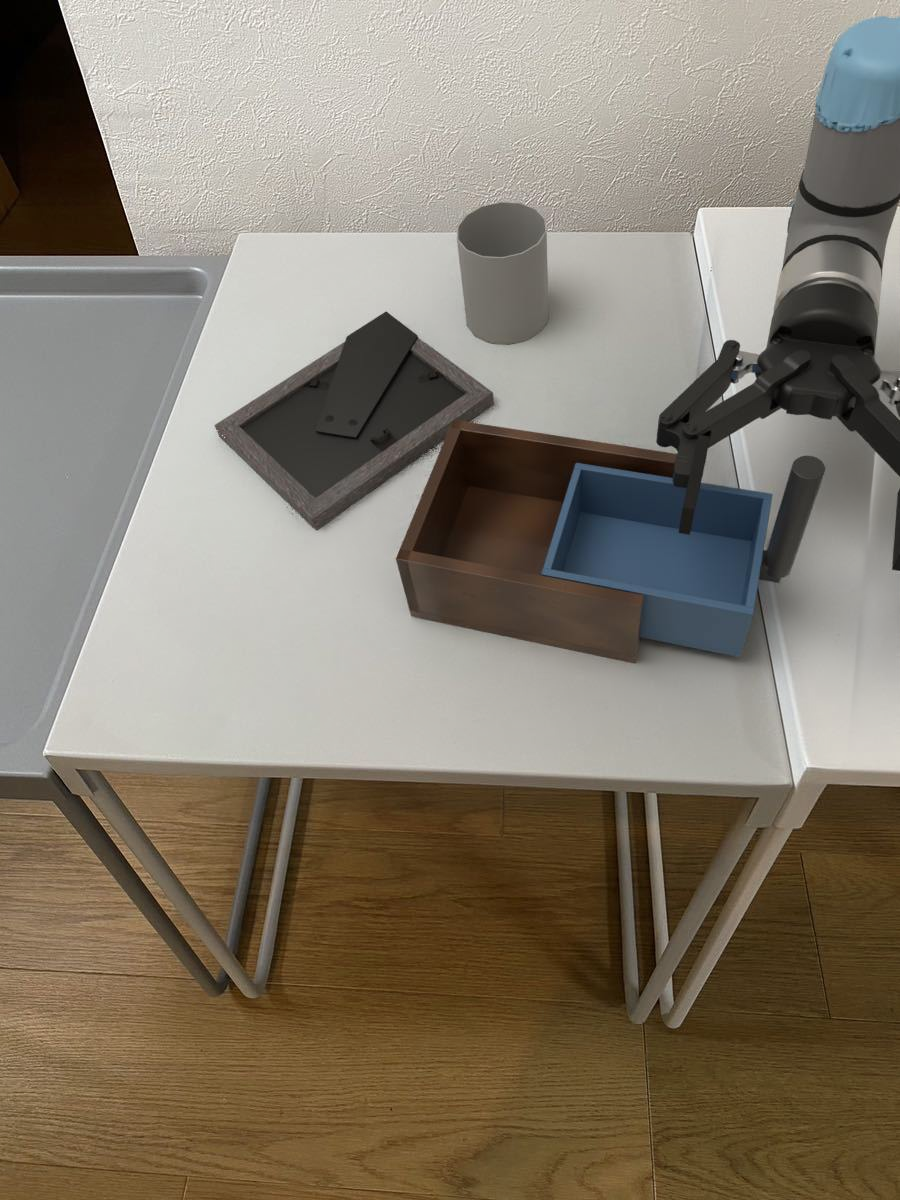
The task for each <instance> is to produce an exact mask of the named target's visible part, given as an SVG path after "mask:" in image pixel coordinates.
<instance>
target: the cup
mask: <svg viewBox="0 0 900 1200" xmlns="http://www.w3.org/2000/svg"><path fill="white" fill-rule="evenodd" d="M547 231H548V230H547V218H546V217H544V215H543V214H542V213H541V212H540V211H539V210H538V209H537V208H535V207H533V206H530V205H527V204H525V203H522V202H515V201H514V202H513V201H497V202H494V203H488V204H485V205H481V206H479V207H477V208H475V209H474V210H471V211H470V212H469V213H466V214H465V216H463V218H462V219H461V220H460V222H459V223H458V225H457V226H456V244H457V252H458V260H459V269H460V276H461V277H460V278H461V287H462V297H463V304H464V313H465V321H466V327H467V328H468V330H470V332H471V333H472V334H473V336H474V337H476V338H478V339H480V340H482V341H484V342H486V343H488V344H496V345H497V344H498V345H507V346H508V345H512V344H517V343H521V342H525V341H528V340H529V339H531V338H533V337H535V336H536V335H537V334H540V333H541V332H542V331H543V329H544V328H545V326H546V324H547V322H548V321H549V320H550V317H549V316H550V315H549V313H550V311H549V277H548V276H549V274H548V270H549V269H548V235H547V234H548V233H547Z"/></svg>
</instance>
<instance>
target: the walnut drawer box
mask: <svg viewBox="0 0 900 1200" xmlns="http://www.w3.org/2000/svg"><path fill="white" fill-rule="evenodd" d="M676 457H677V453H674V452H668V451H661V450H656V449H655V450H654V449H649V448H642V447H635V446H628V445H623V444H616V443H608V442H602V441H595V440H590V439H589V440H588V439H582V438H576V437H570V436H562V435H557V434H549V433H542V432H536V431H531V430H523V429H516V428H509V427H504V426H496V425H490V424H484V423H483V424H482V423H477V422H471V421H470V422H464V421H459V420H453V421H452V423H451V426H450V428H449V430H448V433H447V435H446V438H445V439H444V440H443V443H442V446H441V448H440V450H439V452H438V455H437V457H436V460H435V462H434V465H433V467H432V470H431V472H430V475H429V477H428V478H427V479H428V480H427V482H426V484H425V487H424V489H423V492H422V493H421V496H420V499H419V501H418V504H417V506H416V508H415V511H414V513H413V516H412V518H411V521H410V523H409V526H408V528H407V529H406V532H405V535H404V538H403V540H402V543H401V544H400V547H399V549H398V552H397V555H396V557H395V561H396V562H395V563H396V565H397V569H398V573H399V576H400V580H401V584H402V587H403V591H404V595H405V599H406V603H407V606H408V611H409V614H410V616H411V617H413V618H416V619H417V618H418V619H423V620H426V621H432V622H436V623H441V624H446V625H450V626H454V627H455V626H456V627H459V628H466V629H471V630H475V631H480V632H484V633H489V634H494V635H499V636H503V637H508V638H513V639H518V640H522V641H526V642H531V643H537V644H541V645H546V646H551V647H554V648H555V647H556V648H561V649H566V650H569V651H575V652H579V653H585V654H589V655H593V656H599V657H603V658H608V659H613V660H618V661H623V662H627V663H631V664H636V661H637V657H638V652H639V647H640V644H641V639H642V637H639V635H640V626H641V618H642V610H643V601H644V595H640V594H635V593H630V592H624V591H619V590H614V589H609V588H603V587H598V586H593V585H588V584H583V583H577V582H572V581H567V580H562V579H556V578H551V577H546V576H541V573H542V570H543V567H544V564H545V560H546V557H547V554H548V551H549V548H550V544H551V541H552V538H553V535H554V531H555V528H556V525H557V522H558V518H559V515H560V512H561V509H562V505H563V502H564V499H565V496H566V493H567V489H568V486H569V483H570V480H571V476H572V473H573V470H574V467H575V464H576V463H581V464H587V465H594V466H600V467H606V468H613V469H619V470H625V471H632V472H638V473H644V474H650V475H657V476H663V477H669V478H673V472H674V466H675V461H676Z"/></svg>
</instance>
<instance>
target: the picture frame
mask: <svg viewBox="0 0 900 1200" xmlns="http://www.w3.org/2000/svg"><path fill="white" fill-rule="evenodd" d="M494 405H495V401H494V392H493V391H492V390H491V389H489V388H488V387H487V386H485V385H484V384H482V383H481V382H479V380H477V379H476V378H474V377H472V376H471V375H470V374H468V372H467V371H465V370H463V369H462V368H460V367H459V366H458V365H457V364H455V363H454V362H453V361H451V360H450V359H448V358H447V357H446V356H444V355H443V354H441V353H440V351H437V350H436V349H435V348H433V347H432V346H431V345H429V344H428V343H427V342H425V341H424V340H422V339H421V338H420V337H419V335H418V334H416V333H415V332H414V331H412V329H410V328H409V327H407V326H406V325H405V324H403V323H402V322H401V321H400V320H399V319H397V318H396V317H394V316H393V315H392V314H391V313H389V312H388V311H387V310H386V311H384V312H383V313H381V314H379V315H378V316H376V317H375V318H373V319H371V320H370V321H368V322H367V323H366V324H364V325H362V326H361V327H359V328H358V329H356V330H355V331H353V332H351V333H349V334H348V335H347V336H346V337H345V340H344V341H343V342H342V343H340V344H339V345H337V346H336V347H334V348H333V349H331V350H329V351H328V352H326V353H325V354H323V355H322V356H320V357H318V358H317V359H315V360H314V361H312V362H310V363H309V364H308V365H307V364H306V366H304V367H303V368H301V369H299V370H298V371H297V372H295V373H294V374H292V375H290V376H289V377H287V378H286V379H284V380H282V381H281V382H280V383H278V384H276V385H274V386H273V387H272V388H269V389H268V390H267V391H266V392H264V393H262V394H260V395H259V396H258V397H256V398H255V399H253V400H251V401H250V402H248V403H246V404H245V405H243V406H242V407H240V408H239V409H237V410H235V411H234V412H233V413H231V414H230V415H228V416H226V417H225V418H223V419H221V420H220V421H219V422H217V423H215V424H214V425H213V426H214V428H215V430H216V433H217V434H218V437H219V438H220V439H221V440H222V441H223V442H224V443H225V444H226V445H227V446H228V447H229V448H230V449H232V450H233V452H235V453H236V454H237V456H239V457H240V459H242V460H243V461H244V463H246V464H247V465H248V466H249V467H250V468H251V469H252V470H253V471H254V472H255V473H256V474H257V475H258V476H259V477H260V478H261V479H262V480H263V481H264V482H266V484H267V485H268V486H269V487H271V488H272V490H273V491H275V493H277V494H278V495H279V496H280V498H282V499H283V500H284V501H285V502H286V503H287V504H288V505H289V506H290V507H291V508H292V509H293V510H294V511H295V512H296V513H297V514H298V515H299V516H300V517H301V518H302V519H304V520H305V521H306V522H307V524H308V525H310V526H311V528H313V529H314V530H315V531H318V530H319V529H320V528H322V527H323V526H324V525H326V524H327V523H328V522H330V521H331V520H333V519H335V518H336V517H337V516H339V515H340V514H341V513H342V512H344V511H346V510H347V509H349V508H350V507H352V506H353V505H354V504H355V503H357V502H359V501H360V500H361V499H362V498H364V497H365V496H366V495H368V494H369V493H371V492H372V491H374V490H375V489H377V488H378V487H380V486H381V485H382V484H384V483H385V482H386V481H388V480H389V479H391V478H392V477H394V476H395V475H396V474H398V473H399V472H401V471H402V470H404V468H406V467H408V466H409V465H411V464H413V462H415V461H416V460H418V459H419V458H420V457H422V456H423V455H424V454H426V453H427V452H429V451H430V450H431V449H434V447H436V446H437V445H438V444H440V443H441V442H444V440H445V438H446V435H447V433H448V430H449V428H450V426H451V423H452V421H453V420H459V421H464V422H471V421H473V420H474V419H475V418H477V417H478V416H479V415H481V414H483V413H484V412H485V411H487V410H488V409H490V408H491V407H492V406H494ZM217 430H218V431H217ZM222 435H223V436H222ZM224 437H225V438H224Z"/></svg>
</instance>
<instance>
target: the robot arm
mask: <svg viewBox="0 0 900 1200" xmlns="http://www.w3.org/2000/svg"><path fill="white" fill-rule="evenodd" d="M814 107H815V110H814V114H813V119H812V120H813V121H812V126H811V131H810V137H809V141H808V146H807V153H806V156H805V157H806V158H805V164H804V168H803V170H802V172H801V176H800V179H799V182H798V186H797V190H796V195H795V198H794V199H793V202H792V205H791V211H790V215H789V217H788V220H787V227H786V228H787V230H786V233H787V235H786V240H785V248H784V255H783V260H782V261H783V262H782V267H781V271H780V274H779V278H778V283H777V289H776V294H775V300H774V304H773V312H772V313H773V314H772V317H771V319H770V320H771V322H770V327H769V332H768V336H767V337H768V338H767V341H766V342H767V343H766V348H765V349H764V350H763V351H761V352H760V353H759V354H758V353H753V352H748V351H743V350H740V349H741V344H740V342H739V341H737V340H735V339H729V340H726V341H724V343H723V344H722V347H721V349H720V352H719V355H718V357H717V359H716V360H715V361H714V362H713V363H712V364H710V365H709V367H707V369H706V370H704V372H702V373H701V374H700V375H699V376H698V377H697V378H696V379H695V380H694V381H693V382H692V383H691V384H690V385H689V386H687V388H686V389H685V390H683V392H681V393H680V394H679V395H678V396H677V397H676V398H675V399H674V400H673V401H672V402H671V403H670V404H669V405H668V406H667V407H666V408H665V409H664V410H663V411H662V412H660V413H659V415H658V422H657V423H658V424H657V428H656V429H657V430H656V440H655V442H656V444H657V445H658V446H659V447H660V448H669V447H672V448H674V449H675V450H676V451H677V453H676V454H677V457H676V461H675V466H674V472H673V479H672V481H673V485H674V486H675V487H681V488H687V490H686V494H685V499H684V503H683V508H682V514H681V520H680V527H679V533H682V534H688V535H690V532H691V527H692V522H693V518H694V513H695V508H696V504H697V499H698V494H699V490H700V485H701V483H702V480H703V476H704V471H705V467H706V466H705V465H706V461H707V455H708V449H710V448H711V447H713V446H715V445H716V444H717V443H719V442H721V441H723V440H724V439H726V438H728V437H729V436H731V435H732V434H734V433H736V432H737V431H740V430H741V429H742V428H744V427H746V426H747V425H749V424H751V423H753V422H754V421H756V420H757V419H759V418H760V419H761V420H764V419H766V418H767V417H770V416H771V415H772V414H774V413H776V412H778V411H779V410H781V409H782V410H784V411H785V414H787V415H792V416H793V415H794V416H807V415H808V416H812V417H814V418H818V419H822V420H830V421H831V420H832V419H833V417H836V418H837V419H838V420H839V422H840V423H841V424H842V425H844V427H845V428H846V429H847V430H848V431H849V432H852V433H853V432H856V433H857V434H858V435H859V436H860V438H862V439H863V440H864V441H865V442H866V443H867V444H868V445H869V447H870V448H872V450H873V451H874V452H875V453H876V454H878V456H879V457H880V458H881V459H882V460H883V461H884V463H885V464H887V465H888V467H889V468H890V469H891V470H892V471H894V473H895V474H896V475H897V477H899V478H900V370H889V369H881V367H880V366H879V364H878V363H877V361H876V358H875V357H876V356H875V355H876V346H877V337H878V324H879V316H880V307H881V295H882V293H881V292H882V283H883V267H884V261H885V254H886V248H887V244H888V243H887V242H888V238H889V236H890V235H889V234H890V231H891V228H892V225H893V223H894V219H895V216H896V213H897V210H898V207H899V203H900V16H898V17H889V16H886V15H880V16H874V17H870V18H867V19H863V20H861V21H859V22H857V23H855V24H853V25H851V26H850V27H848V28H847V29H846V30H845V31H843V33H841V34H840V36H839V37H838V38H837V39H836V41H835V43H834V44H833V46H832V49H831V51H830V54H829V57H828V60H827V63H826V65H825V68H824V72H823V75H822V78H821V83H820V85H819V88H818V92H817V95H816V99H815V104H814ZM748 374H754V376H755V380H754V382H753V383H751V384H750V385H748V386H746V387H745V388H743V389H741V390H740V391H738V392H736V393H735V394H733V395H731V396H729V397H728V398H726V399H725V400H723V401H721V402H720V403H718V404H716V405H714V404H715V403H717V401H718V400H719V399H721V397H722V396H724V394H725V393H726V392H727V391H728V389H729V388H730V386H731V385H732V384H734V385H735V384H738V383H739V382H740V380H741V379H743V378H744V377H745V376H746V375H748ZM879 390H880V391H883V392H884V393H885V396H886V397H887V398H888V400H887V402H888V404H889V405H891V406H895V410H896V412H897V413H896V414H897V415H898V416H896V414H894V412H893V411H891V409H889V407H887V405H885V403H884V402H883V401H882V400H881V399H880V393H879ZM713 405H714V406H713ZM895 509H896V510H895V522H894V523H895V524H894V538H893V548H892V549H893V551H892V564H891V565H892V566H891V570H892V571H898V572H900V488H898V491H897V498H896V508H895Z"/></svg>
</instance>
